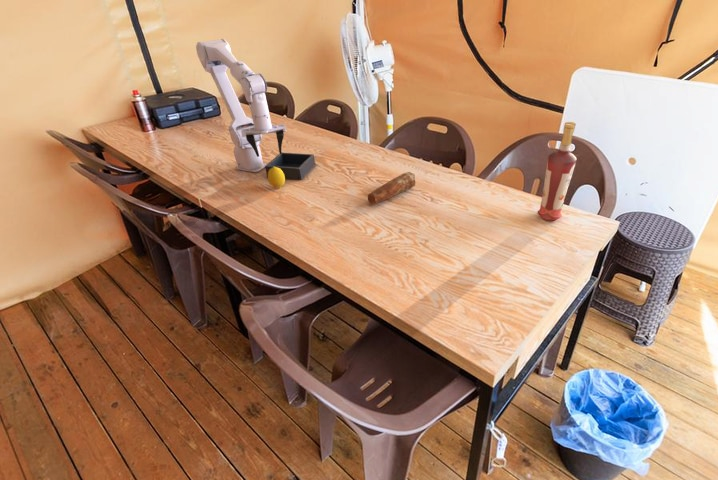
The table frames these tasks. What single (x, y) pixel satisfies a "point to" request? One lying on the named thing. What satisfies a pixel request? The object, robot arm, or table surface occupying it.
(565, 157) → the liquor
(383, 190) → the brown cylinder
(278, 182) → the lemon
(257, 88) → the robot arm
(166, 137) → the table surface
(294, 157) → the bin
